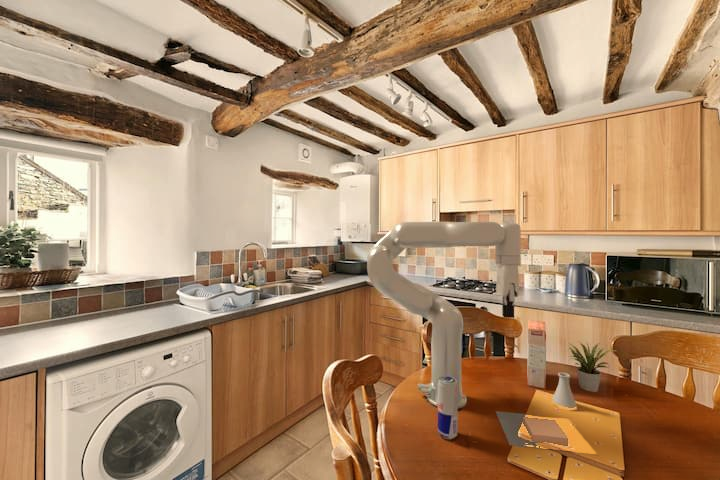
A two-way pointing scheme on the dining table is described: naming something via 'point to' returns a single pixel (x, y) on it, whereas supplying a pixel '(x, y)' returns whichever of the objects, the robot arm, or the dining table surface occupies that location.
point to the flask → (564, 392)
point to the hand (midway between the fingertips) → (508, 316)
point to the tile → (545, 431)
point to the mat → (513, 428)
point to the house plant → (589, 367)
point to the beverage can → (447, 407)
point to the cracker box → (536, 354)
